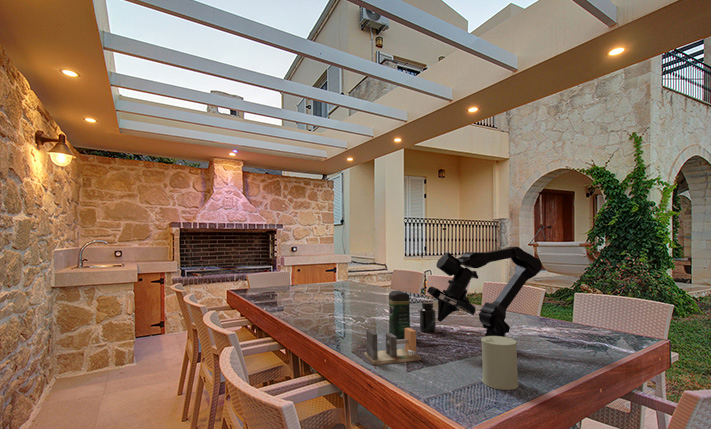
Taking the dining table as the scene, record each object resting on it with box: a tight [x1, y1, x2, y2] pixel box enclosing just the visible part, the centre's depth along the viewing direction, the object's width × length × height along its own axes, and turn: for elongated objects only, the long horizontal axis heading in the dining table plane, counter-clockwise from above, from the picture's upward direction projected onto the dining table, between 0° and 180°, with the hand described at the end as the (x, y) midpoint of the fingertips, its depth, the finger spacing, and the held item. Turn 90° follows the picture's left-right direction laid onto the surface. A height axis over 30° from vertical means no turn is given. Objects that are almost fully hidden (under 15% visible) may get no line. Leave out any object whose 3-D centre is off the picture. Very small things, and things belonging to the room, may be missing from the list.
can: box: [480, 336, 520, 391], centre depth 97 cm, size 9×9×12 cm
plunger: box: [388, 327, 417, 355], centre depth 119 cm, size 9×8×8 cm
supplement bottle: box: [419, 301, 437, 333], centre depth 155 cm, size 7×7×12 cm
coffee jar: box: [388, 290, 411, 340], centre depth 146 cm, size 10×8×19 cm
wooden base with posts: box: [363, 328, 422, 366], centre depth 119 cm, size 16×10×9 cm, turn 105°
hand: (439, 321), depth 124 cm, fingers closed
